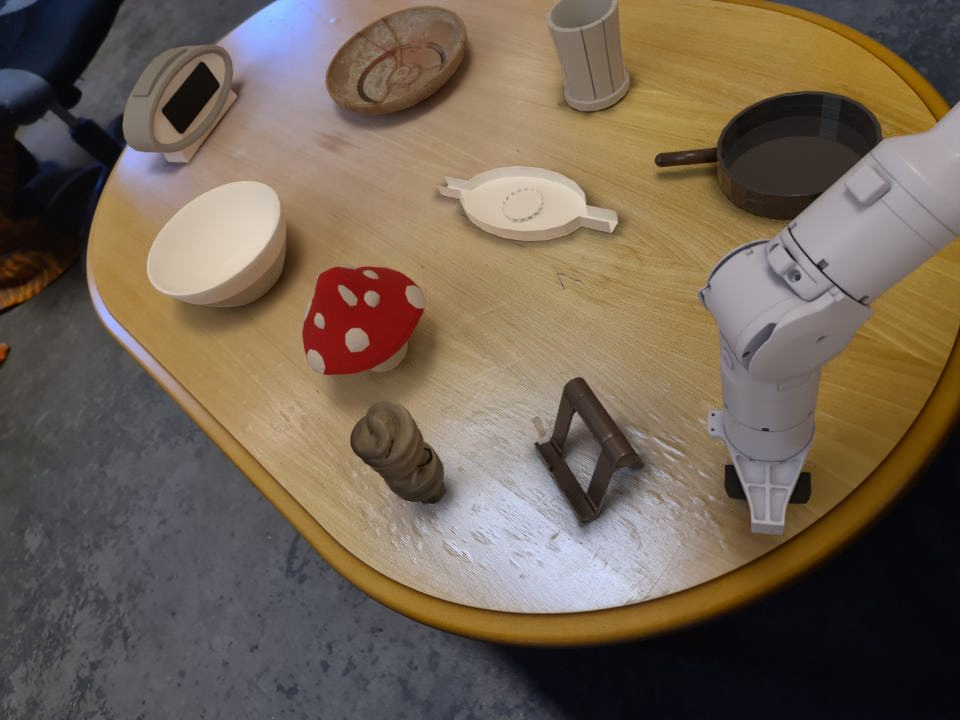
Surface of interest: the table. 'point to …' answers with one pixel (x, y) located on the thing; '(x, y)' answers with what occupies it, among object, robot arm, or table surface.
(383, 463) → the brown twisted statue
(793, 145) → the pan
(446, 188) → the shallow oval tray
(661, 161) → the pan handle
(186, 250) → the bowl
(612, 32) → the cup
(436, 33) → the ceramic bowl
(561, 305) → the table surface
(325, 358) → the decorative mushroom
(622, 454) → the tablet stand
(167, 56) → the alarm clock
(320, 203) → the table surface
